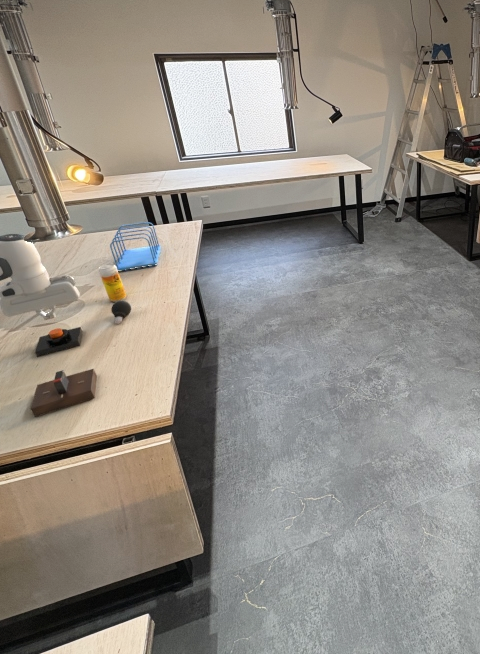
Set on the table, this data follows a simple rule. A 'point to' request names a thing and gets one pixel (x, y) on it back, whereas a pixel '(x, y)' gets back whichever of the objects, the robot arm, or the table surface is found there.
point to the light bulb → (120, 310)
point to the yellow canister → (112, 282)
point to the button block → (59, 342)
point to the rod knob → (61, 382)
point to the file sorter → (136, 250)
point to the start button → (56, 333)
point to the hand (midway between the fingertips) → (50, 318)
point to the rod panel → (77, 392)
